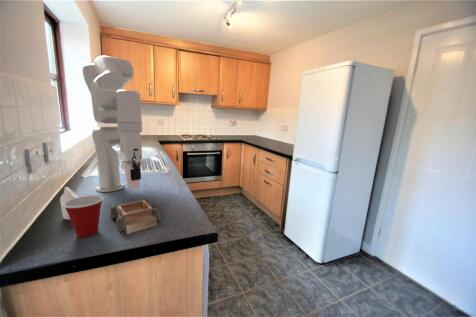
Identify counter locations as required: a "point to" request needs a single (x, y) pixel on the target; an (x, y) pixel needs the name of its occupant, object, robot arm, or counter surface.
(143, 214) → the chassis
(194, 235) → the counter surface
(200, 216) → the counter surface
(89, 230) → the plastic cup
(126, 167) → the smoothie
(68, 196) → the roll
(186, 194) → the counter surface
